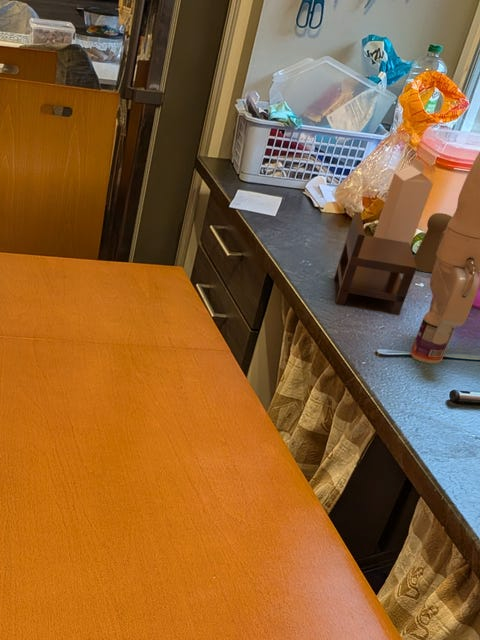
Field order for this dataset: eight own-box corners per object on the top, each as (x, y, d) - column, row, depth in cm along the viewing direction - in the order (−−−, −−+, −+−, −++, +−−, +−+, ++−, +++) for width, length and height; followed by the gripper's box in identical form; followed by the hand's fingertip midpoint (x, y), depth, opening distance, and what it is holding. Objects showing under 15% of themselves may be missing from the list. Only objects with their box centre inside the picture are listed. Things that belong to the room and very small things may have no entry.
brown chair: (392, 288, 190) (416, 221, 182) (398, 315, 178) (425, 245, 170) (333, 277, 192) (354, 211, 183) (335, 304, 180) (358, 234, 171)
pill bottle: (414, 348, 166) (435, 294, 159) (444, 358, 163) (467, 303, 157) (405, 357, 162) (426, 302, 156) (436, 367, 160) (459, 311, 154)
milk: (370, 277, 194) (409, 163, 180) (362, 268, 199) (399, 155, 185) (399, 280, 194) (440, 165, 180) (390, 270, 199) (429, 158, 185)
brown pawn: (417, 261, 206) (436, 208, 199) (443, 269, 203) (463, 216, 196) (405, 265, 203) (424, 212, 195) (430, 274, 199) (451, 220, 192)
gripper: (497, 273, 143) (459, 358, 152) (479, 236, 158) (445, 315, 167) (455, 266, 144) (420, 351, 153) (441, 229, 159) (410, 309, 168)
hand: (433, 332), depth 160 cm, fingers open, 8 cm apart
